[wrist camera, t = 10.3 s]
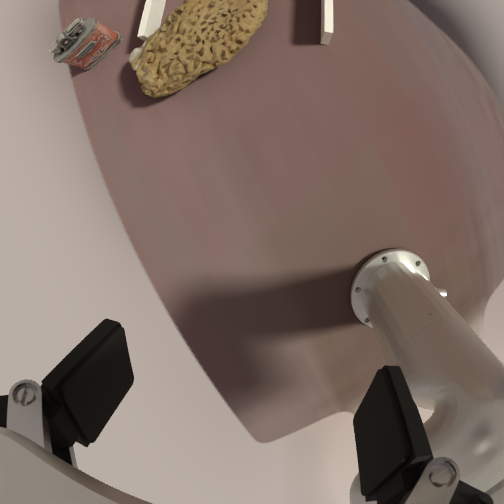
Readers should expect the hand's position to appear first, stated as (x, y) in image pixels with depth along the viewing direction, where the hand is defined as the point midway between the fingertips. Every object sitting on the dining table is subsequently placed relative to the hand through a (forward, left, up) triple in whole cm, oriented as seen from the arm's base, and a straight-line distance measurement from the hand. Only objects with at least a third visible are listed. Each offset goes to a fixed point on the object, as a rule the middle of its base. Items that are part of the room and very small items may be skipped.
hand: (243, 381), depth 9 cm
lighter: (+28, -25, -28) cm, 46 cm away
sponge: (+10, -24, -28) cm, 38 cm away
